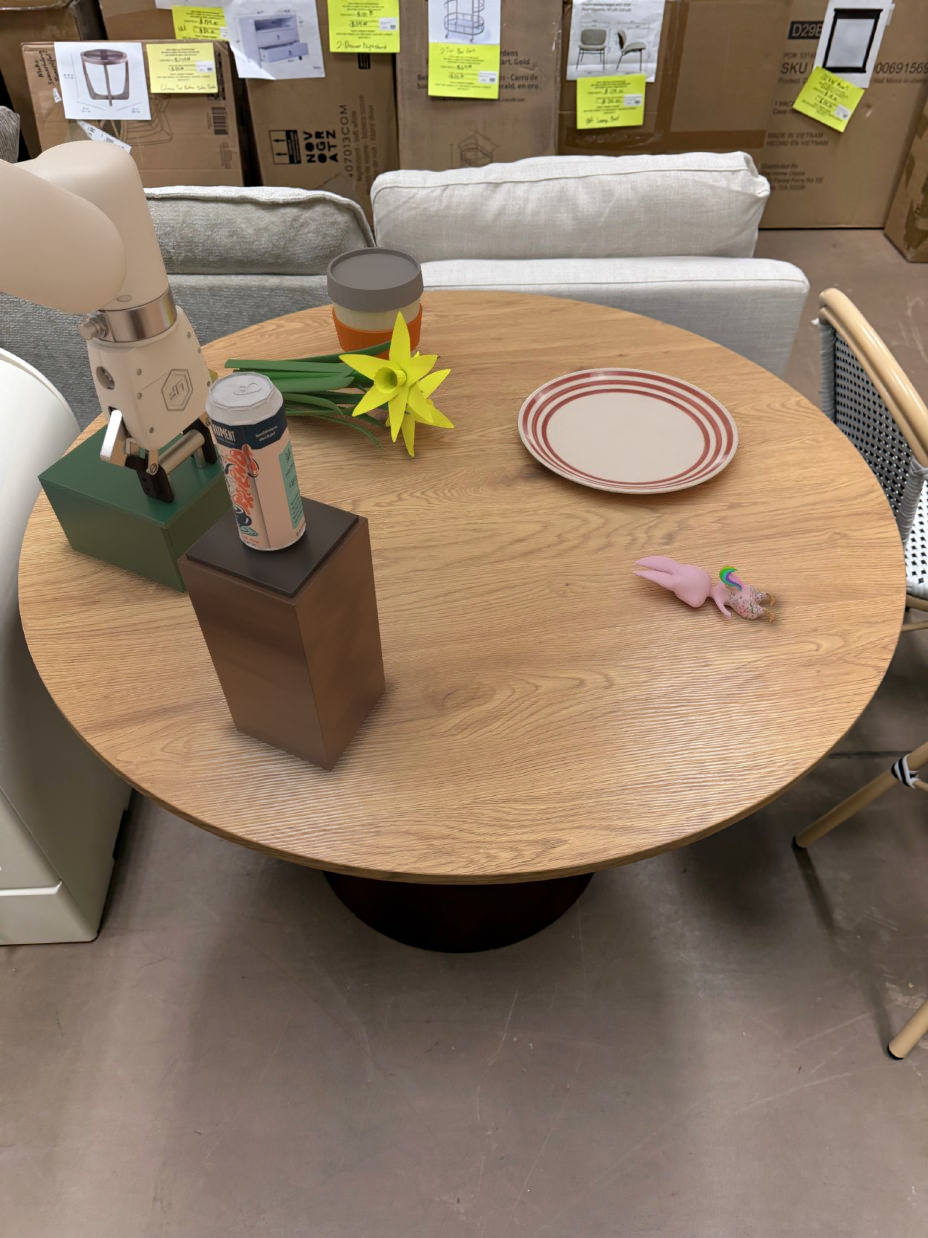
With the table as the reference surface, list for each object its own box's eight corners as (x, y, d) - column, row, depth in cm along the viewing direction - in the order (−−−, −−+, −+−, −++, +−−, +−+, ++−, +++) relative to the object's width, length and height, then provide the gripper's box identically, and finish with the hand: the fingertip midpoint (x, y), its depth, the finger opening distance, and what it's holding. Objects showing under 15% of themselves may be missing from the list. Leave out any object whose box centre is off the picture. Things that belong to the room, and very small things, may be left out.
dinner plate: (473, 430, 106) (473, 408, 103) (623, 363, 117) (627, 342, 115) (622, 545, 92) (627, 523, 89) (777, 456, 103) (785, 434, 100)
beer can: (233, 522, 60) (193, 377, 51) (295, 504, 61) (268, 361, 52) (250, 563, 57) (211, 418, 48) (315, 544, 58) (289, 399, 50)
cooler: (253, 525, 93) (237, 456, 86) (185, 596, 86) (160, 527, 79) (147, 487, 98) (123, 419, 90) (73, 552, 90) (39, 482, 83)
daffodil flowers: (293, 369, 117) (509, 370, 100) (262, 463, 114) (479, 481, 98) (211, 298, 102) (447, 285, 85) (173, 404, 100) (409, 412, 83)
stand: (331, 775, 72) (293, 600, 55) (237, 733, 74) (174, 555, 58) (386, 692, 78) (367, 512, 61) (298, 657, 80) (256, 475, 64)
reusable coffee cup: (324, 362, 117) (310, 257, 106) (403, 341, 121) (397, 238, 110) (358, 406, 109) (347, 299, 98) (441, 382, 113) (440, 277, 102)
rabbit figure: (765, 602, 88) (633, 558, 89) (792, 565, 83) (651, 519, 84) (763, 645, 84) (624, 598, 85) (790, 608, 79) (643, 559, 80)
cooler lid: (243, 458, 86) (233, 418, 82) (166, 529, 78) (152, 489, 75) (122, 419, 90) (108, 379, 87) (39, 482, 83) (20, 441, 79)
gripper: (92, 370, 63) (156, 541, 76) (227, 276, 73) (262, 441, 87) (19, 348, 65) (94, 518, 78) (160, 259, 75) (205, 423, 89)
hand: (182, 476), depth 82 cm, fingers open, 6 cm apart
